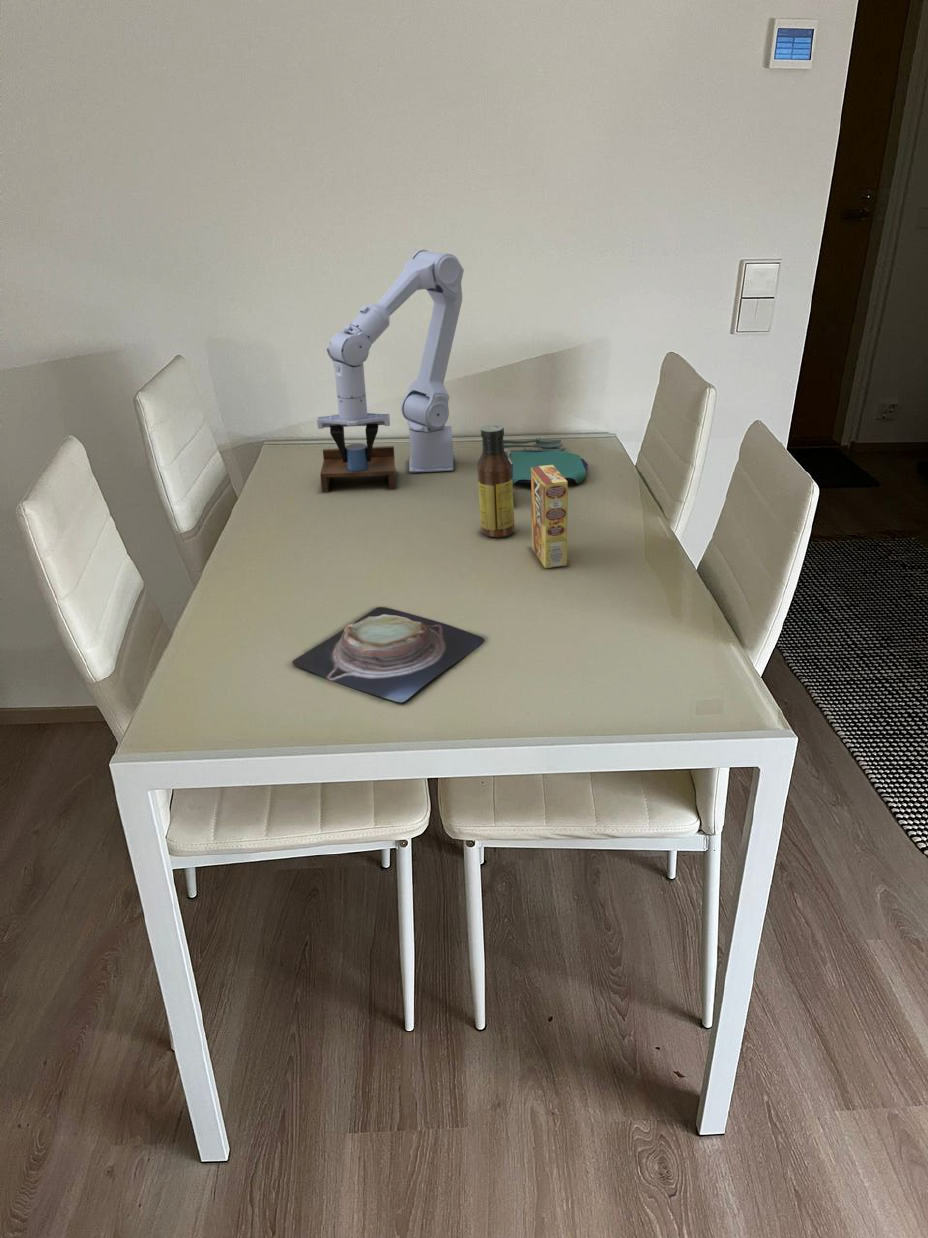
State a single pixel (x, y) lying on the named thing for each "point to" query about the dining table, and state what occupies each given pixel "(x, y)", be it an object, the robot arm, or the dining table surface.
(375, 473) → the shelf
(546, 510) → the candy box
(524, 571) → the dining table surface
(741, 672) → the dining table surface
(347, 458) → the blue cup
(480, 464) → the sauce bottle
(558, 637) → the dining table surface
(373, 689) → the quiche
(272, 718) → the dining table surface
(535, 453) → the cutlery set
